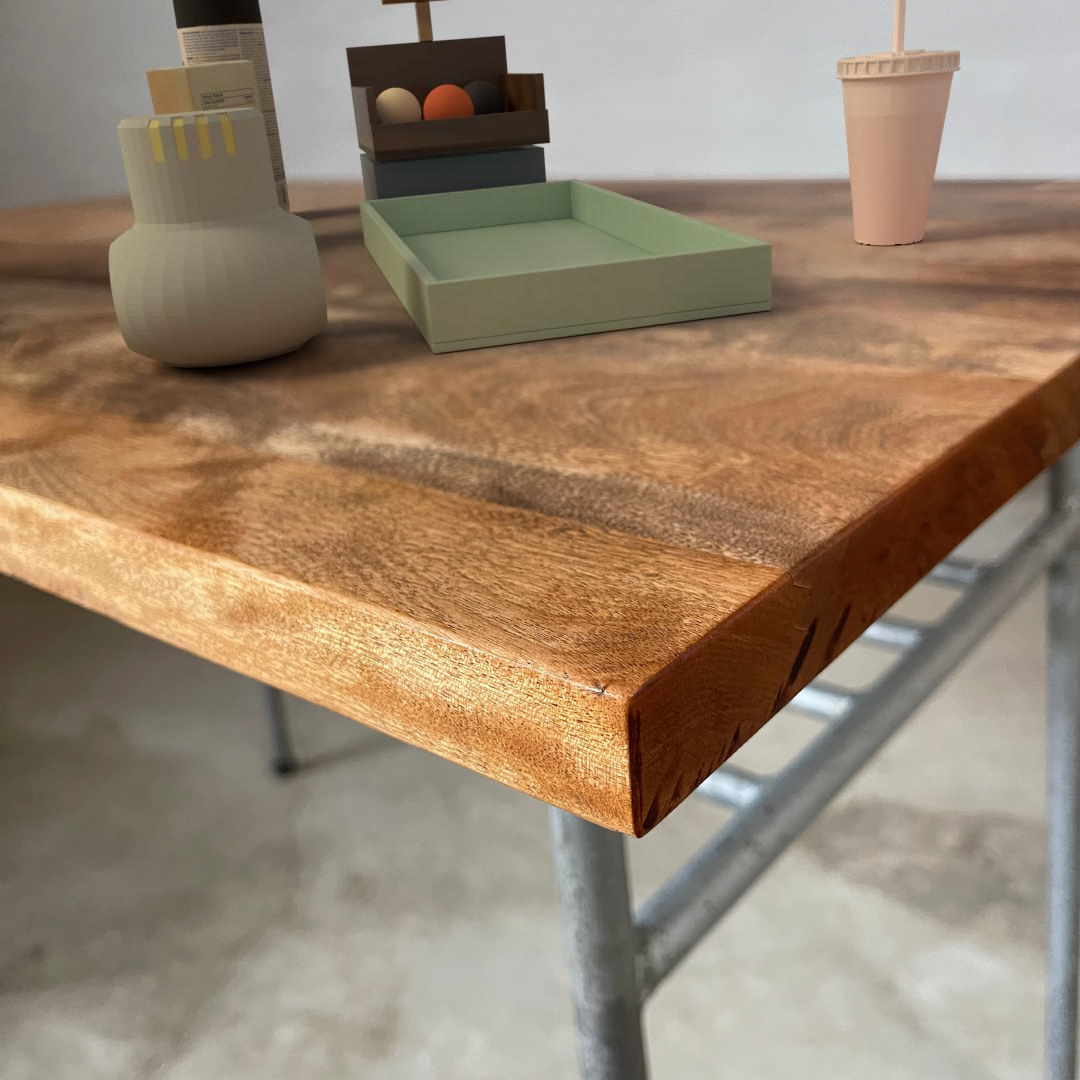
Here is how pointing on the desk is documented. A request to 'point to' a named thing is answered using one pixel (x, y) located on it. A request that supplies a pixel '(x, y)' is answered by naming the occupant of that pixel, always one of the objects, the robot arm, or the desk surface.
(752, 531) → the desk surface
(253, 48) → the spray can
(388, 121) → the ball cream
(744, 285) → the tray
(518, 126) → the wooden display box
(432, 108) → the ball terracotta
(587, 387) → the desk surface
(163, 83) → the cosmetic box
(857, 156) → the smoothie
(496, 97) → the ball charcoal
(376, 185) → the stand
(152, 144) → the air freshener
